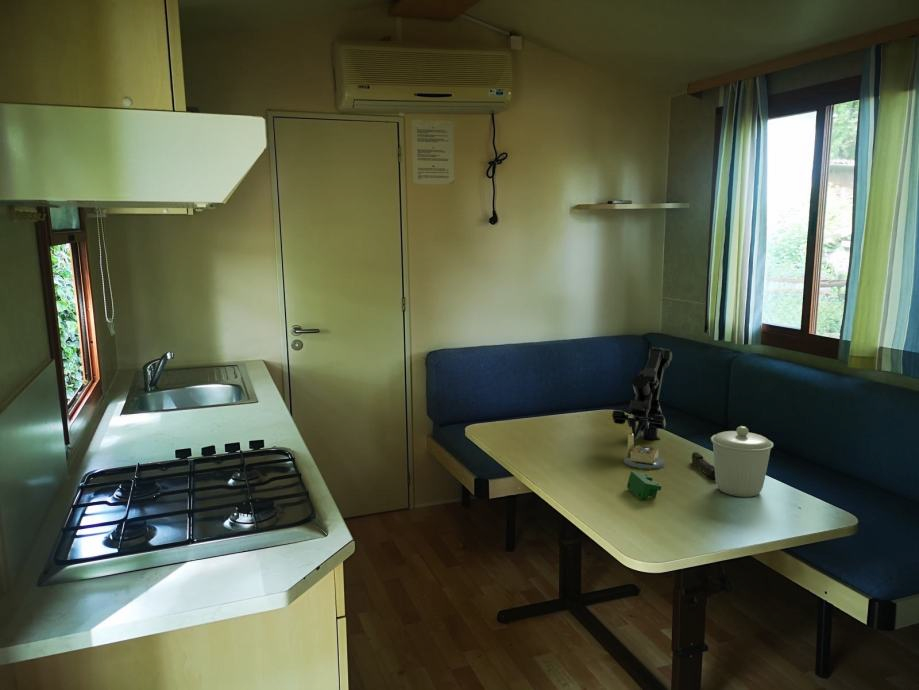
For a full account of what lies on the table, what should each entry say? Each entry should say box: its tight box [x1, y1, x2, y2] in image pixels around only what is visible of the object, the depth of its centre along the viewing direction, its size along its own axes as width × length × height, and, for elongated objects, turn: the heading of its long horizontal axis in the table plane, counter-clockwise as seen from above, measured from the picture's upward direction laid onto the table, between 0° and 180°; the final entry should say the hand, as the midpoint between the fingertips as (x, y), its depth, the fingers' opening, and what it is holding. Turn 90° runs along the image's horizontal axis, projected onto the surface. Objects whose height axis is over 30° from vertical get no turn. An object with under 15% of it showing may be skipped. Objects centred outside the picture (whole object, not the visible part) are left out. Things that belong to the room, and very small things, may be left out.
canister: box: [710, 425, 774, 498], centre depth 219 cm, size 18×18×21 cm
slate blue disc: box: [623, 446, 666, 470], centre depth 247 cm, size 14×14×6 cm
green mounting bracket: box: [626, 471, 663, 501], centre depth 218 cm, size 12×6×9 cm, turn 3°
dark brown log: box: [691, 451, 716, 482], centre depth 239 cm, size 19×4×5 cm, turn 2°
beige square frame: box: [626, 432, 659, 464], centre depth 247 cm, size 8×10×8 cm
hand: (634, 439), depth 254 cm, fingers closed
